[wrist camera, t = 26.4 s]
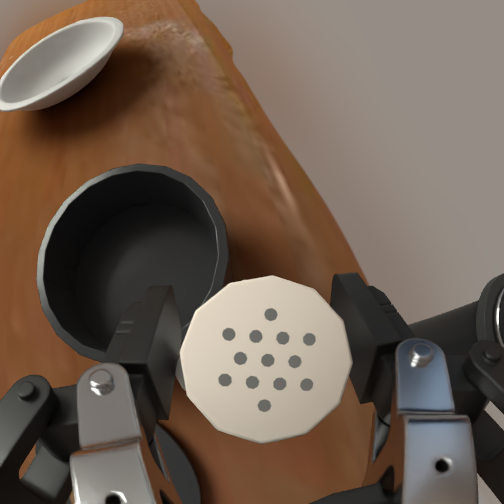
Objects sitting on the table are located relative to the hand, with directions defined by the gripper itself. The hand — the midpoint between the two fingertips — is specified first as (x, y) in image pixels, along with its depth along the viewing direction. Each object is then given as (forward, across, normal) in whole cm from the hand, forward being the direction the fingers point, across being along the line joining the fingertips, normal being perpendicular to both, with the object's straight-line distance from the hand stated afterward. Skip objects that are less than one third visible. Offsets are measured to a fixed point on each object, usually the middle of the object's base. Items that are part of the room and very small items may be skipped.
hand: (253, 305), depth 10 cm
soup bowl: (+41, +28, -16) cm, 52 cm away
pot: (+17, +10, +8) cm, 21 cm away
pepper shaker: (+3, 0, +5) cm, 6 cm away
